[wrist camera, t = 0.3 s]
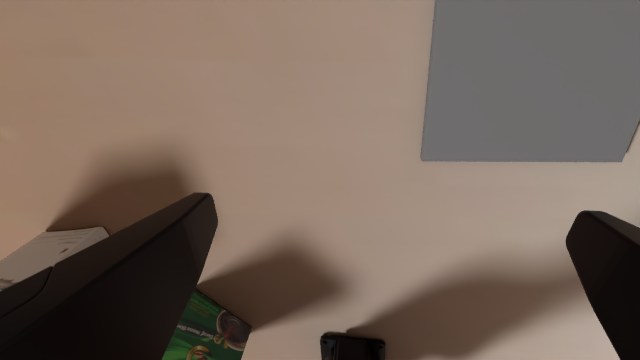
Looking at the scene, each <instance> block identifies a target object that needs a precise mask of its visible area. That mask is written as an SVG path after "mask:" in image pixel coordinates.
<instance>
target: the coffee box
mask: <svg viewBox="0 0 640 360" xmlns="http://www.w3.org/2000/svg"><path fill="white" fill-rule="evenodd" d="M250 331H251V327H250V326H248V325H247V324H245V323H244V322H242V321H241V320H240V319H238V318H237V317H235V316H233V315H232V314H230V313H229V312H227V311H226V310H224V309H223V308H221V307H220V306H218V305H217V304H215V303H214V302H212V301H211V300H210V299H209V298H207V297H206V296H205V295H202V294H201V293H199V292H198V291H196V290H195V289H194V292H193V294H192V296H191V298H190V300H189V302H188V304H187V307H186V309H185V311H184V313H183V315H182V317H181V319H180V322H179V324H178V326H177V328H176V330H175V332H174V334H173V337H172V339H171V341H170V343H169V345H168V347H167V349H166V352H165V354H164V356H163V358H162V360H241V357H242V355H243V352H244V349H245V346H246V343H247V340H248V337H249V334H250Z"/></svg>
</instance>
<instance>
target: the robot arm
mask: <svg viewBox="0 0 640 360" xmlns="http://www.w3.org/2000/svg"><path fill="white" fill-rule="evenodd" d="M217 225H218V218H217V213H216V209H215V204H214V200H213V197H212V195H211V194H209V193H193V194H191V195H189V196H187V197H185V198H183V199H181V200H179V201H177V202H175V203H173V204H171V205H169V206H167V207H165V208H164V209H162V210H160V211H158V212H156V213H154V214H152V215H150V216H148V217H146V218H144V219H142V220H140V221H138V222H136V223H134V224H132V225H130V226H128V227H126V228H124V229H122V230H120V231H118V232H116V233H114V234H112V235H110V236H109V237H107V238H105V239H103V240H101V241H99V242H97V243H95V244H93V245H91V246H89V247H87V248H85V249H83V250H81V251H79V252H77V253H75V254H73V255H71V256H69V257H67V258H65V259H63V260H61V261H59V262H57V263H56V264H55V265H54V266H49V267H47V268H45V269H43V270H42V271H40V272H38V273H36V274H34V275H32V276H30V277H28V278H26V279H24V280H22V281H20V282H18V283H16V284H14V285H12V286H9V287H7V288H5V289H3V290H1V291H0V360H162V358H163V356H164V354H165V352H166V349H167V347H168V345H169V343H170V341H171V339H172V337H173V334H174V332H175V330H176V328H177V326H178V324H179V322H180V319H181V317H182V315H183V313H184V311H185V309H186V307H187V304H188V302H189V300H190V298H191V296H192V294H193V292H194V289H195V287H196V285H197V283H198V280H199V278H200V276H201V273H202V270H203V268H204V265H205V262H206V259H207V256H208V253H209V250H210V247H211V244H212V241H213V238H214V235H215V232H216V229H217ZM566 247H567V250H568V252H569V254H570V257H571V259H572V262H573V264H574V266H575V269H576V271H577V274H578V276H579V278H580V281H581V283H582V286H583V288H584V290H585V293H586V295H587V297H588V300H589V302H590V304H591V306H592V308H593V310H594V312H595V314H596V316H597V318H598V319H599V321H600V323H601V325H602V327H603V329H604V330H605V332H606V334H607V336H608V338H609V340H610V341H611V343H612V345H613V347H614V349H615V351H616V352H617V354H618V356H619V358H620V360H640V228H639V227H636V226H634V225H632V224H630V223H628V222H625V221H623V220H621V219H619V218H616V217H614V216H612V215H610V214H608V213H605V212H602V211H582V212H580V213H579V214H578V215H577V217H576V219H575V221H574V223H573V225H572V227H571V229H570V231H569V233H568V235H567V237H566ZM320 345H321V356H322V360H385V342H384V341H382V340H373V339H362V338H350V337H339V336H328V335H323V336H321V339H320Z"/></svg>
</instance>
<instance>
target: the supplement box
mask: <svg viewBox="0 0 640 360" xmlns="http://www.w3.org/2000/svg"><path fill="white" fill-rule="evenodd" d="M107 237H109V235H108V233H107V232H106V230H105V229H104V228H103V227H95V228H89V229H81V230H69V231H56V232H43V233H41V234H40V235H38V236H37V237H35V238H34V239H32V240H31V241H30V242H28V243H27V244H25V245H23V246H22V247H21V248H19V249H18V250H16V251H15V252H13V253H12V254H10V255H9V256H7V257H6V258H4V259H3V260H2V261H0V291H1V290H3V289H5V288H7V287H9V286H12V285H14V284H16V283H18V282H20V281H22V280H24V279H26V278H28V277H30V276H32V275H34V274H36V273H38V272H40V271H42V270H43V269H45V268H47V267H49V266H54V265H55V264H56V263H57V262H59V261H61V260H63V259H65V258H67V257H69V256H71V255H73V254H75V253H77V252H79V251H81V250H83V249H85V248H87V247H89V246H91V245H93V244H95V243H97V242H99V241H101V240H103V239H105V238H107Z"/></svg>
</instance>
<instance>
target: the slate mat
mask: <svg viewBox="0 0 640 360" xmlns="http://www.w3.org/2000/svg"><path fill="white" fill-rule="evenodd" d="M639 120H640V0H435V10H434V20H433V31H432V42H431V52H430V63H429V74H428V84H427V95H426V106H425V116H424V127H423V137H422V148H421V160H422V161H486V162H622V160H623V158H624V156H625V153H626V151H627V149H628V146H629V144H630V141H631V139H632V137H633V134H634V132H635V130H636V127H637V125H638V122H639Z"/></svg>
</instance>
